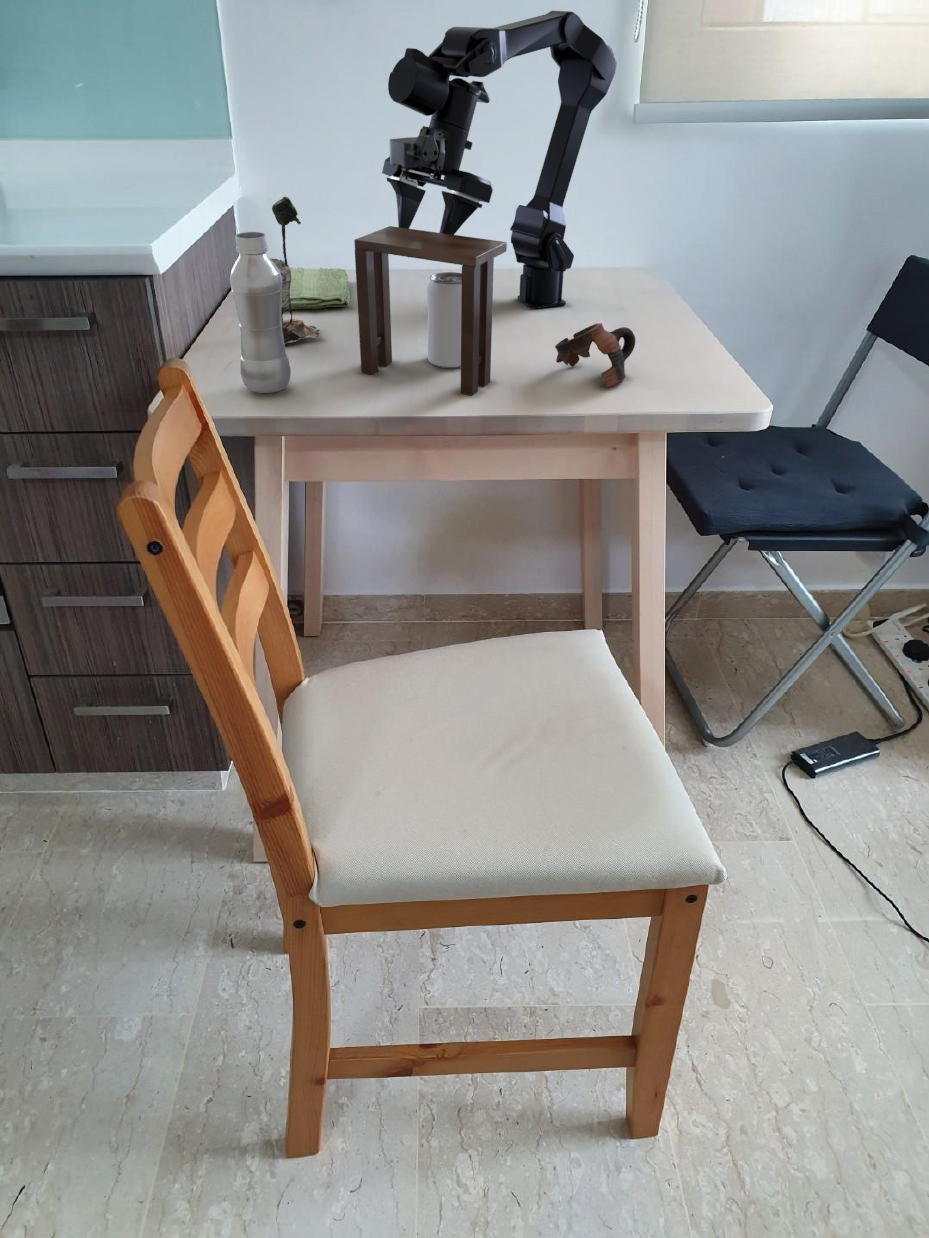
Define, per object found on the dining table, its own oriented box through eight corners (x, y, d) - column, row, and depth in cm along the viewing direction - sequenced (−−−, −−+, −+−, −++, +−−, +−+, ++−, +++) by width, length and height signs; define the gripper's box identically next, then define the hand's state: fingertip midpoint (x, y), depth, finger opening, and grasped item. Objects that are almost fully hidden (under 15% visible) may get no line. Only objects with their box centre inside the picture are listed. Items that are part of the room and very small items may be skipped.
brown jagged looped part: (595, 398, 126) (571, 341, 124) (560, 405, 135) (536, 352, 132) (659, 359, 130) (637, 304, 127) (621, 369, 138) (599, 317, 136)
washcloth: (271, 312, 154) (269, 293, 152) (279, 283, 168) (277, 264, 166) (351, 311, 155) (349, 291, 153) (351, 281, 169) (350, 263, 167)
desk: (394, 353, 138) (389, 226, 128) (502, 374, 132) (506, 242, 121) (360, 372, 132) (353, 240, 121) (472, 396, 125) (475, 257, 115)
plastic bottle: (245, 381, 128) (225, 229, 117) (294, 380, 129) (279, 229, 117) (240, 399, 123) (219, 241, 112) (291, 398, 124) (275, 241, 112)
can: (467, 371, 133) (468, 285, 126) (423, 367, 134) (422, 282, 127) (475, 355, 138) (477, 273, 131) (433, 352, 139) (432, 270, 132)
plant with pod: (250, 330, 146) (233, 194, 135) (322, 329, 147) (311, 193, 135) (244, 348, 140) (225, 206, 128) (319, 346, 140) (308, 205, 129)
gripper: (367, 101, 132) (342, 215, 137) (452, 115, 121) (421, 239, 126) (424, 126, 140) (397, 233, 145) (509, 142, 129) (477, 257, 134)
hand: (421, 240), depth 137 cm, fingers open, 9 cm apart
